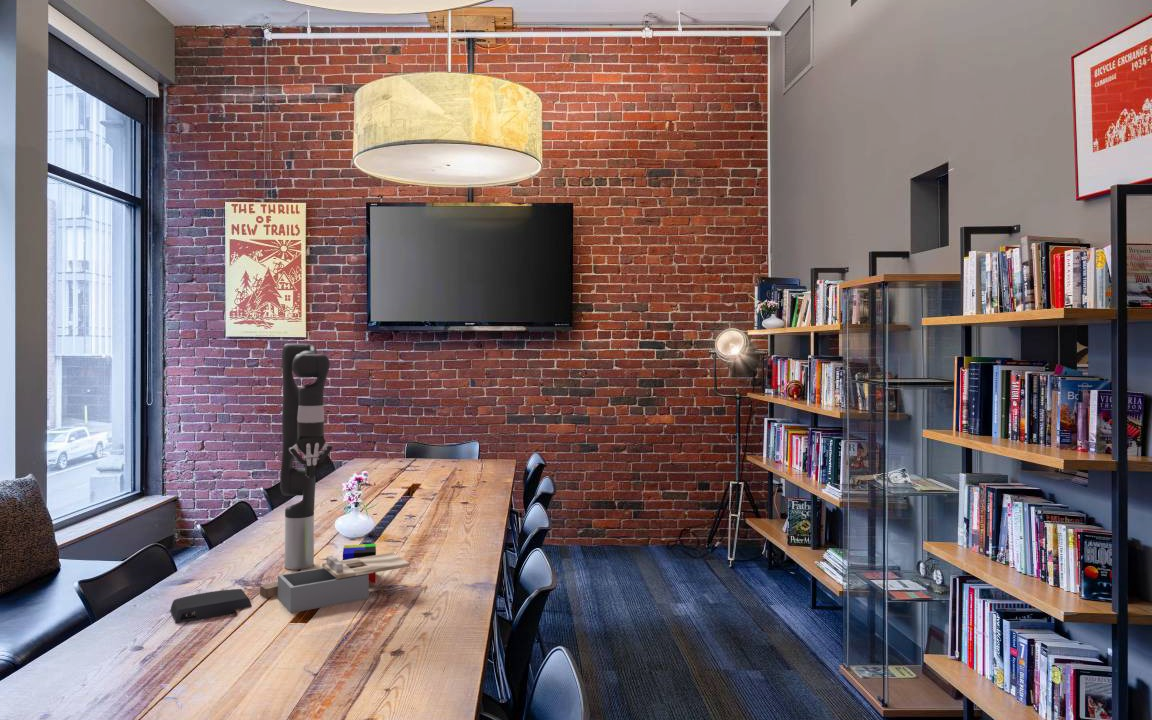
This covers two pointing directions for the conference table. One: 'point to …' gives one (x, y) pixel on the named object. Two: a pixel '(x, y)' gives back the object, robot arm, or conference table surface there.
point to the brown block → (269, 590)
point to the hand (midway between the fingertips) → (310, 477)
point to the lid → (364, 565)
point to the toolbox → (319, 589)
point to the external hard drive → (208, 605)
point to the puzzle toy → (360, 555)
